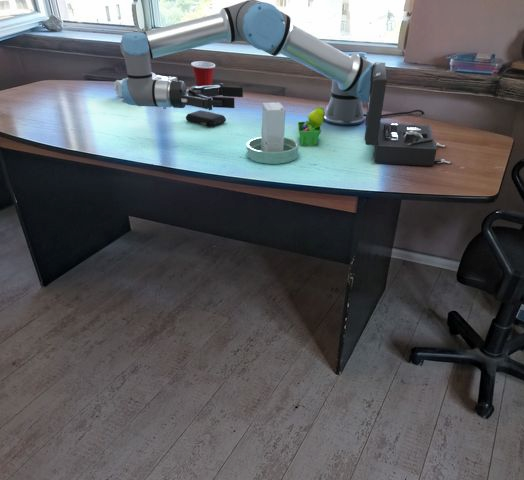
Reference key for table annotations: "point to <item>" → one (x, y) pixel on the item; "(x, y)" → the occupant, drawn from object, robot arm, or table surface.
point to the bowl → (272, 157)
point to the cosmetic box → (272, 127)
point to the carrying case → (205, 118)
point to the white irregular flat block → (155, 77)
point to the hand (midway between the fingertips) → (238, 97)
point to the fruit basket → (311, 127)
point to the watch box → (395, 131)
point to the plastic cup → (203, 72)
